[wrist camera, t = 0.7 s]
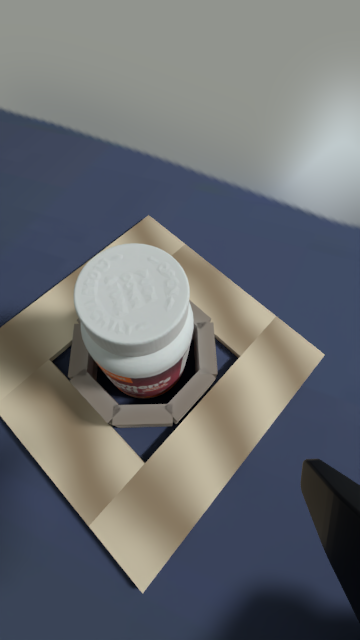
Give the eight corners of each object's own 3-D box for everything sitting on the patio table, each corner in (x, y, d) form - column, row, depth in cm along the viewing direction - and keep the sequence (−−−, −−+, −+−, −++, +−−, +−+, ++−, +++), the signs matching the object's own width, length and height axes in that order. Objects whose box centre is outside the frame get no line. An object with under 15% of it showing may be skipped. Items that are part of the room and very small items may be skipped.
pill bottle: (103, 399, 22) (45, 356, 11) (111, 323, 24) (70, 231, 14) (185, 400, 22) (202, 359, 12) (185, 324, 24) (199, 235, 14)
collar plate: (143, 588, 18) (138, 615, 15) (-39, 363, 22) (-68, 351, 20) (321, 356, 24) (341, 345, 21) (149, 219, 29) (147, 195, 26)
